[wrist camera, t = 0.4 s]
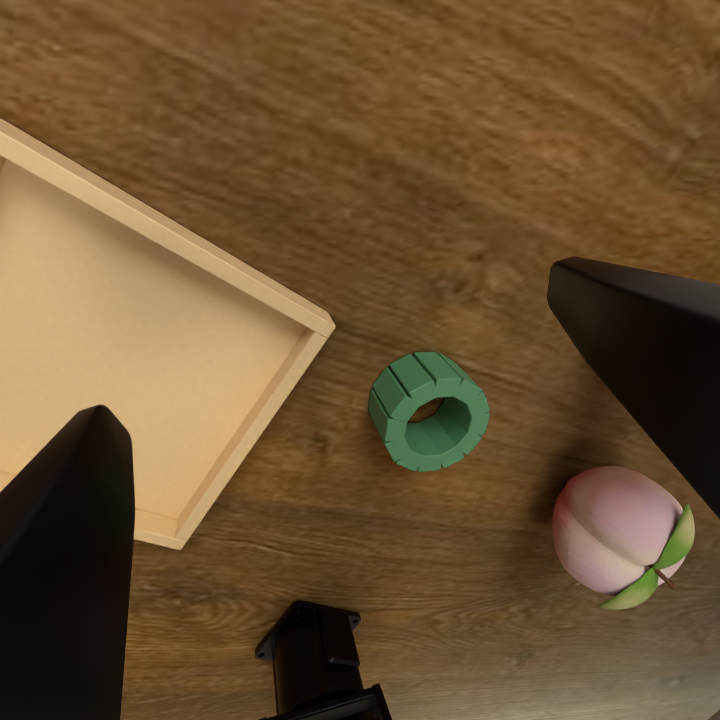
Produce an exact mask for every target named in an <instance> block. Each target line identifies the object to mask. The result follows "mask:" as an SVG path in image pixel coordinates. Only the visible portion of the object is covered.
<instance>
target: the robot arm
mask: <svg viewBox="0 0 720 720" xmlns="http://www.w3.org/2000/svg"><path fill="white" fill-rule="evenodd" d="M547 300H548V305H549V307H550V309H551V310H552V312H553V313H554V315H555V316H556V318H557V319H558V321H559V322H560V324H561V325H562V327H563V328H564V330H565V331H566V333H567V334H568V336H569V337H570V339H571V340H572V342H573V343H574V345H575V346H576V348H577V349H578V351H579V352H580V354H581V355H582V357H583V358H584V359H585V361H586V362H587V363H588V365H589V366H590V367H591V368H592V370H593V371H594V372H595V373H596V375H597V376H598V377H599V378H600V379H601V380H602V382H603V383H604V384H605V385H606V386H607V387H608V389H609V390H610V391H611V392H612V393H613V394H614V396H615V397H616V398H617V399H618V400H619V402H620V403H621V404H622V405H623V406H624V407H625V409H626V410H627V411H628V412H629V413H630V414H631V416H632V417H633V418H634V419H635V420H636V421H637V423H638V424H639V425H640V426H641V427H642V429H643V430H644V431H645V432H646V433H647V434H648V436H649V437H650V438H651V439H652V440H653V441H654V443H655V444H656V445H657V446H658V447H659V448H660V450H661V451H662V452H663V453H664V454H665V456H666V457H667V458H668V459H669V460H670V461H671V463H672V464H673V465H674V466H675V467H676V468H677V470H678V471H679V472H680V473H681V474H682V475H683V477H684V478H685V479H686V480H687V481H688V483H689V484H690V485H691V486H692V487H693V488H694V490H695V491H696V492H697V493H698V494H699V495H700V497H701V498H702V499H703V500H704V501H705V502H706V504H707V505H708V506H709V507H710V508H711V510H712V511H713V512H714V513H715V514H716V515H717V517H718V518H719V519H720V285H719V284H714V283H709V282H704V281H699V280H693V279H688V278H683V277H678V276H673V275H668V274H663V273H657V272H652V271H647V270H642V269H637V268H632V267H626V266H621V265H616V264H611V263H606V262H601V261H596V260H590V259H585V258H580V257H569V258H566V259H562V260H559V261H556V262H555V263H553V265H552V266H551V269H550V276H549V285H548V294H547ZM134 528H135V489H134V468H133V448H132V439H131V436H130V434H129V432H128V430H127V429H126V428H125V427H124V425H123V424H122V423H121V422H120V421H119V420H118V418H117V417H116V416H115V415H114V414H113V412H112V411H111V410H110V409H109V408H108V407H107V406H105V405H101V404H99V405H95V406H92V407H89V408H86V409H83V410H80V411H78V412H77V413H76V414H75V415H74V416H73V417H72V418H71V419H70V420H69V421H68V422H67V423H66V425H65V426H64V427H63V428H62V429H61V430H60V431H59V432H58V433H57V434H56V435H55V436H54V437H53V438H52V439H51V440H50V441H49V442H48V443H47V444H46V445H45V446H44V447H43V448H42V449H41V450H40V451H39V452H38V453H37V455H36V456H35V457H34V458H33V459H32V460H31V461H30V462H29V463H28V464H27V465H26V466H25V467H24V468H23V469H22V470H21V471H20V472H19V473H18V474H17V475H16V476H15V477H14V478H13V479H12V480H11V481H10V482H9V483H8V485H7V486H6V487H5V488H4V489H3V490H2V491H1V492H0V720H120V714H121V700H122V687H123V674H124V661H125V647H126V634H127V621H128V608H129V594H130V581H131V568H132V555H133V542H134ZM360 621H361V618H360V614H359V613H356V612H352V611H347V610H342V609H338V608H333V607H329V606H324V605H319V604H315V603H310V602H305V601H296V602H294V603H293V604H292V605H291V607H290V608H289V609H288V610H287V611H286V613H285V614H284V615H283V616H282V618H281V619H280V620H279V621H278V623H277V624H276V625H275V626H274V627H273V629H272V630H271V631H270V632H269V634H268V635H267V636H266V637H265V638H264V640H263V641H262V642H261V643H260V645H259V646H258V647H257V648H256V650H255V657H256V658H257V659H263V660H270V661H272V662H273V675H274V687H275V699H276V712H277V716H274V717H270V718H266V717H265V718H261V719H258V720H392V718H391V715H390V712H389V710H388V707H387V704H386V701H385V698H384V695H383V692H382V690H381V687H380V684H376V685H372V687H371V688H368V689H363V685H362V681H361V677H360V673H359V668H358V667H359V666H360V661H359V657H358V653H357V649H356V645H355V641H354V637H353V633H352V631H353V629H354V628H355V627H356V626H357V625H358V624H359V623H360Z"/></svg>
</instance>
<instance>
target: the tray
mask: <svg viewBox="0 0 720 720" xmlns="http://www.w3.org/2000/svg"><path fill="white" fill-rule="evenodd" d="M335 327H336V326H335V324H334V322H333V321H332V319H331V317H330V315H329V314H328V312H326V311H325V310H323V309H321V308H320V307H318V306H316V305H315V304H313V303H311V302H309V301H308V300H306V299H304V298H303V297H301V296H299V295H298V294H296V293H294V292H293V291H291V290H289V289H288V288H286V287H284V286H283V285H281V284H279V283H277V282H276V281H274V280H272V279H271V278H269V277H267V276H266V275H264V274H262V273H261V272H259V271H257V270H256V269H254V268H252V267H250V266H249V265H247V264H245V263H244V262H242V261H240V260H239V259H237V258H235V257H234V256H232V255H230V254H229V253H227V252H225V251H224V250H222V249H220V248H218V247H217V246H215V245H213V244H212V243H210V242H208V241H207V240H205V239H203V238H202V237H200V236H198V235H197V234H195V233H193V232H192V231H190V230H188V229H186V228H185V227H183V226H181V225H180V224H178V223H176V222H175V221H173V220H171V219H170V218H168V217H166V216H165V215H163V214H161V213H160V212H158V211H156V210H154V209H153V208H151V207H149V206H148V205H146V204H144V203H143V202H141V201H139V200H138V199H136V198H134V197H133V196H131V195H129V194H128V193H126V192H124V191H122V190H121V189H119V188H117V187H116V186H114V185H112V184H111V183H109V182H107V181H106V180H104V179H102V178H101V177H99V176H97V175H96V174H94V173H92V172H90V171H89V170H87V169H85V168H84V167H82V166H80V165H79V164H77V163H75V162H74V161H72V160H70V159H69V158H67V157H65V156H64V155H62V154H60V153H58V152H57V151H55V150H53V149H52V148H50V147H48V146H47V145H45V144H43V143H42V142H40V141H38V140H37V139H35V138H33V137H32V136H30V135H28V134H26V133H25V132H23V131H21V130H20V129H18V128H16V127H15V126H13V125H11V124H10V123H8V122H6V121H5V120H3V119H0V492H1V491H2V490H3V489H4V488H5V487H6V486H7V485H8V483H9V482H10V481H11V480H12V479H13V478H14V477H15V476H16V475H17V474H18V473H19V472H20V471H21V470H22V469H23V468H24V467H25V466H26V465H27V464H28V463H29V462H30V461H31V460H32V459H33V458H34V457H35V456H36V455H37V453H38V452H39V451H40V450H41V449H42V448H43V447H44V446H45V445H46V444H47V443H48V442H49V441H50V440H51V439H52V438H53V437H54V436H55V435H56V434H57V433H58V432H59V431H60V430H61V429H62V428H63V427H64V426H65V425H66V423H67V422H68V421H69V420H70V419H71V418H72V417H73V416H74V415H75V414H76V413H77V412H78V411H80V410H83V409H86V408H89V407H92V406H95V405H99V404H101V405H105V406H107V407H108V408H109V409H110V410H111V411H112V412H113V414H114V415H115V416H116V417H117V418H118V420H119V421H120V422H121V423H122V424H123V425H124V427H125V428H126V429H127V430H128V432H129V434H130V436H131V439H132V448H133V468H134V489H135V528H134V539H136V540H140V541H144V542H148V543H152V544H156V545H160V546H165V547H169V548H173V549H177V550H181V549H182V547H183V546H184V545H185V543H186V542H187V541H188V539H189V538H190V536H191V535H192V533H193V532H194V530H195V529H196V528H197V526H198V525H199V523H200V522H201V520H202V519H203V518H204V516H205V515H206V513H207V512H208V510H209V509H210V507H211V506H212V505H213V503H214V502H215V500H216V499H217V497H218V496H219V494H220V493H221V492H222V490H223V489H224V487H225V486H226V484H227V483H228V482H229V480H230V479H231V477H232V476H233V474H234V473H235V471H236V470H237V469H238V467H239V466H240V464H241V463H242V461H243V460H244V459H245V457H246V456H247V454H248V453H249V451H250V450H251V448H252V447H253V446H254V444H255V443H256V441H257V440H258V438H259V437H260V435H261V434H262V433H263V431H264V430H265V428H266V427H267V425H268V424H269V423H270V421H271V420H272V418H273V417H274V415H275V414H276V412H277V411H278V410H279V408H280V407H281V405H282V404H283V402H284V401H285V399H286V398H287V397H288V395H289V394H290V392H291V391H292V389H293V388H294V387H295V385H296V384H297V382H298V381H299V379H300V378H301V376H302V375H303V374H304V372H305V371H306V369H307V368H308V366H309V365H310V363H311V362H312V361H313V359H314V358H315V356H316V355H317V353H318V352H319V351H320V349H321V348H322V346H323V345H324V343H325V342H326V340H327V338H329V336H330V335H331V333H332V332H333V330H334V329H335Z"/></svg>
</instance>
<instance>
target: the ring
mask: <svg viewBox="0 0 720 720" xmlns="http://www.w3.org/2000/svg"><path fill="white" fill-rule="evenodd" d="M389 366H390V368H391V369H389V368H387V367H386V368H385V369H384V370H383V372H382V373H381V374H380V376H379V377H378V378H377V380H376V381H375V382H374V384H373V385H372V386H373V388H374V389H371V391H370V398H369V406H368V410H369V415H370V417H371V419H372V421H373V422H374V424H375V426H376V428H377V430H378V432H379V434H380V436H381V438H382V440H383V442H384V444H385V446H386V448H387V450H388V452H389V454H390V456H391V457H392V459H393V461H394V462H396V464H398V465H400V466H403V467H405V468H407V469H409V470H412V471H414V472H415V471H416V469H417V471H418V472H424V471H434V470H440V467H441V466H442V468H443V469H444V468H446V467H448V466H450V465H452V464H454V463H456V462H458V461H459V460H461V459H463V458H464V455H463V453H464V454H466V455H468V454H469V453H470V452H471V450H472V449H473V448H474V447H475V446H476V445H477V443H478V442H479V441H480V440H481V439H482V436H481V435H483V434H485V431H486V427H487V423H488V420H489V416H490V413H489V412H488V411H490V409H489V406H488V403H487V400H486V397H485V394H484V392H483V391H482V389H481V388H480V387H479V386H478V385H477V384H476V383H475V382H474V381H473V380H472V379H471V378H470V377H469V376H468V375H467V374H466V373H465V372H464V371H463V370H462V369H461V368H460V367H459V366H458V365H457V364H456V363H455V362H453V361H452V360H450V359H448V358H447V357H445V356H444V355H442V354H441V353H438V354H437V353H436V352H414V355H413V356H412V355H411V354H408V355H406V356H404V357H402V358H400V359H399V360H397V361H395V362H393V363H391V364H390V365H389ZM438 397H445V398H444V402H443V404H442V405H441V406H440V408H439V409H438V410H437V411H436V413H435V414H434V415H433V416H431V417H429V418H427V419H425V420H423V421H421V422H419V423H407V422H408V420H409V419H410V418H411V416H412V415H413V414H414V413H415V411H416V410H417V409H418V408H419V406H421V405H423V404H425V403H427V402H429V401H431V400H433V399H435V398H438Z"/></svg>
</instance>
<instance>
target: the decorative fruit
mask: <svg viewBox="0 0 720 720" xmlns="http://www.w3.org/2000/svg"><path fill="white" fill-rule="evenodd" d="M694 535H695V529H694V519H693V514H692V512H691V509H690V506H689V504H688V503H687V504H686V505H685V508H684V510H683V509H682V507H681V506H680V504H679V503H678V502H677V500H676V499H675V498H674V497H673V496H672V495H671V494H670V493H669V492H667V491H666V490H665V489H664V488H663V487H661V486H660V485H658V484H657V483H655V482H654V481H652V480H651V479H649V478H648V477H646V476H644V475H642V474H641V473H639V472H636V471H634V470H631V469H628V468H625V467H620V466H601V467H596V468H592V469H589V470H586V471H584V472H582V473H580V474H578V475H576V476H574V477H573V478H571V479H570V480H568V482H567V484H566V486H565V487H564V488H563V490H562V491H561V493H560V495H559V496H558V498H557V500H556V503H555V508H554V513H553V540H554V545H555V550H556V553H557V556H558V558H559V560H560V562H561V564H562V565H563V567H564V568H565V569H566V570H567V571H568V572H569V574H570V575H572V576H573V577H574V578H575V579H576V580H578V581H579V582H580V583H582V584H583V585H585V586H587V587H588V588H590V589H592V590H594V591H597V592H600V593H602V594H606V595H610V596H615V597H613V598H611V599H609V600H607V601H606V602H604V603H601V604H600V605H599V607H603V608H606V609H616V610H618V609H626V608H631V607H634V606H637V605H639V604H641V603H643V602H644V601H645V600H647V599H648V598H649V597H650V596H651V595H652V594H653V592H654V591H655V590H656V588H657V586H658V585H660V584H662V583H663V582H666V583H667V584H668V585H669V586H670V588H671V589H673V590H676V589H677V586H676V585H675V584H674V583H673V582H671V581H670V580H669V579H668V578H669V577H671V576H672V575H673V574H674V573H675V572H676V570H677V569H678V568H679V567H680V565H681V564H682V563H683V561H684V559H685V556H686V555H687V553H688V552H689V550H690V549H691V546H692V544H693V541H694Z"/></svg>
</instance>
